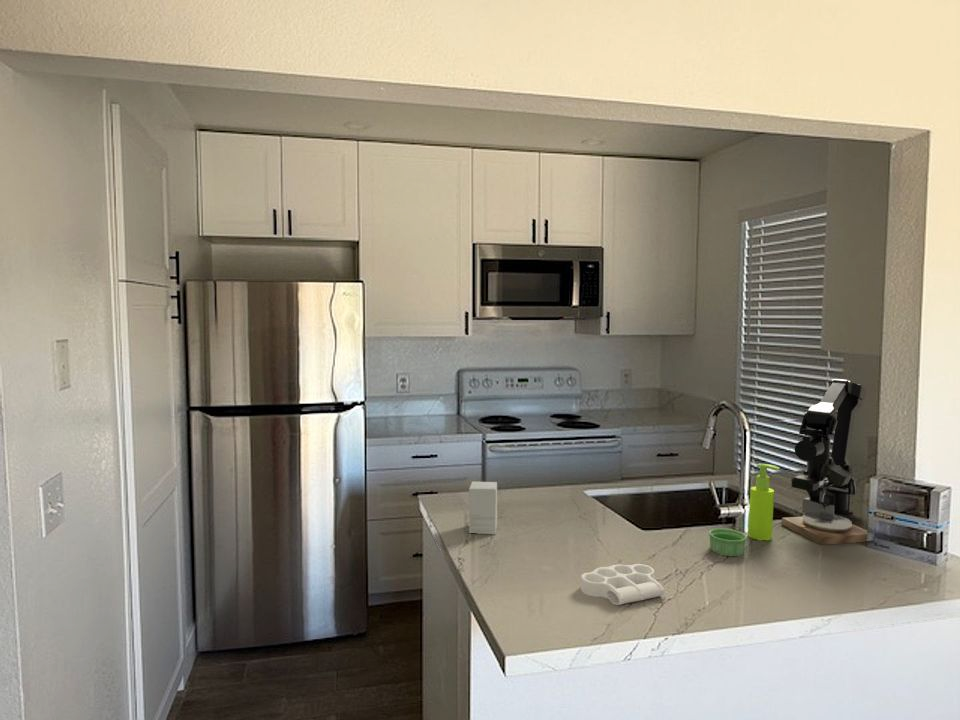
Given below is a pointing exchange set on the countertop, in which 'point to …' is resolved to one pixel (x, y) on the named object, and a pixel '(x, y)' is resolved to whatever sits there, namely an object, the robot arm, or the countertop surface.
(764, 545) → the countertop surface
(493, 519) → the supplement box
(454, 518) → the countertop surface
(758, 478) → the soap dispenser
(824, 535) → the dial base
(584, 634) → the countertop surface
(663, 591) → the white brass knuckles
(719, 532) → the ramekin
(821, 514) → the dial
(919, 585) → the countertop surface
